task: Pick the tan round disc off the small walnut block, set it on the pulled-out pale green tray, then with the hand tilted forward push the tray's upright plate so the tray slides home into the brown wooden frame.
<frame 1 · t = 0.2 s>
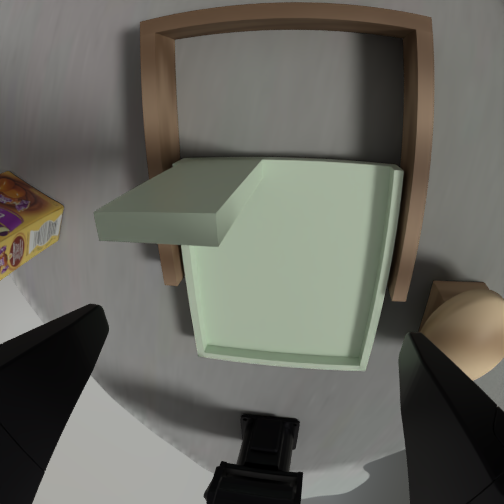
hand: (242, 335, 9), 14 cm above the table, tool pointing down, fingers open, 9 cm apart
tray: (277, 314, 19), point 6 cm above the table, slide at 8.0 cm
brown wooden frame: (288, 156, 20), on the table
tan round disc: (465, 334, 20), point 3 cm above the table, touching block
block: (451, 307, 23), on the table
candy box: (33, 201, 26), on the table
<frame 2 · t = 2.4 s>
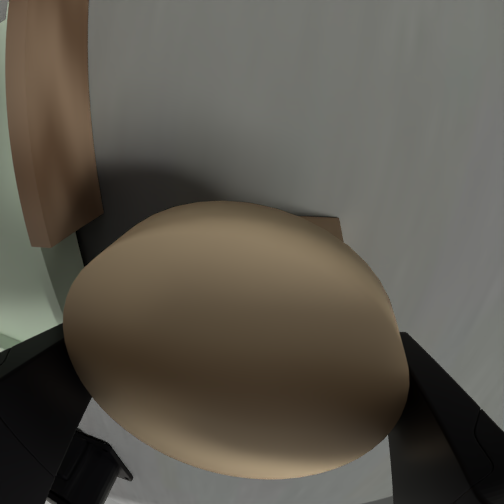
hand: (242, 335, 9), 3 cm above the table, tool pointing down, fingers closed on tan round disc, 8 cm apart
tan round disc: (234, 356, 8), point 3 cm above the table, touching block, gripper
block: (258, 285, 11), on the table
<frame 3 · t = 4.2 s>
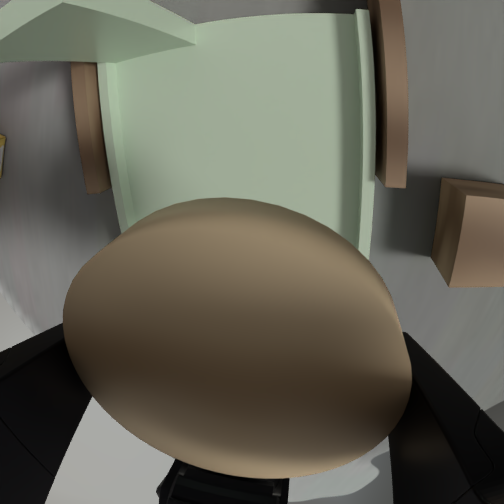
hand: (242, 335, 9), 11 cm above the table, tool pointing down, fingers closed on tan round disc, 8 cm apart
tray: (207, 191, 12), point 6 cm above the table, slide at 8.0 cm
brown wooden frame: (229, 25, 14), on the table
tan round disc: (235, 354, 8), point 12 cm above the table, touching gripper
block: (471, 221, 16), on the table
when the fingers open (2 cm above the table, at t = 6.0 s): tan round disc drops 2 cm, resting on tray.
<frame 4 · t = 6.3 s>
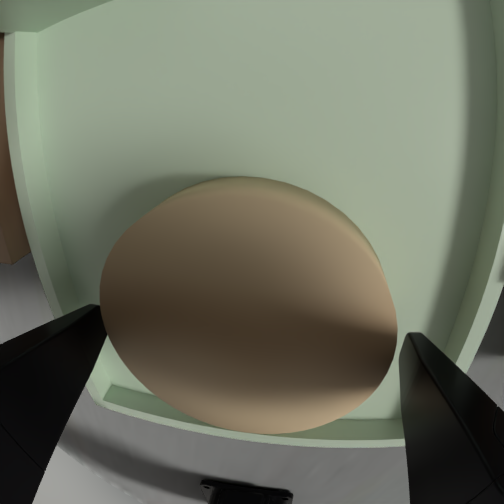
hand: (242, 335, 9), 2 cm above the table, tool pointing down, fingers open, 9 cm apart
tray: (181, 361, 4), point 6 cm above the table, slide at 8.0 cm, touching tan round disc
tan round disc: (248, 313, 9), point 1 cm above the table, touching tray
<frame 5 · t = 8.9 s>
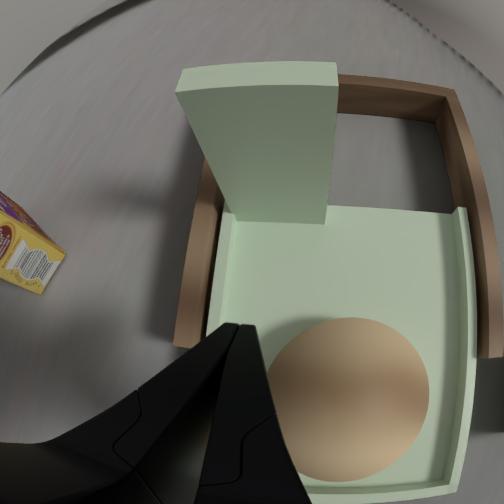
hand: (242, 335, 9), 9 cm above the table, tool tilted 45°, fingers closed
tray: (364, 348, 11), point 6 cm above the table, slide at 8.0 cm, touching tan round disc
brown wooden frame: (348, 216, 19), on the table
tan round disc: (343, 399, 14), point 1 cm above the table, touching tray
candy box: (33, 247, 22), on the table
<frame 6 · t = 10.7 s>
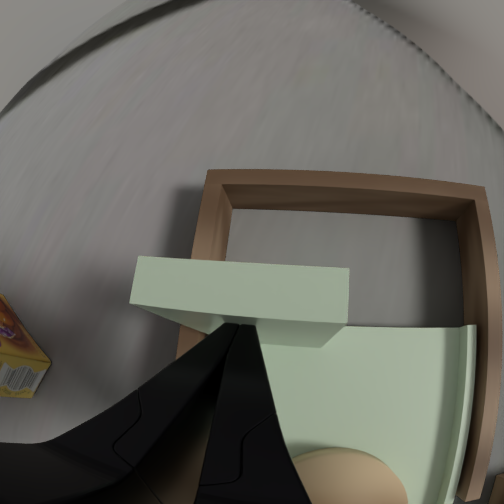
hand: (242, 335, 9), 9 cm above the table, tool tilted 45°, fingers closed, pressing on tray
brown wooden frame: (346, 354, 17), on the table
candy box: (18, 342, 20), on the table
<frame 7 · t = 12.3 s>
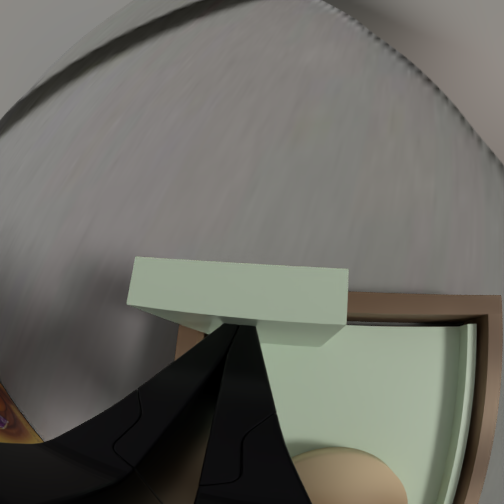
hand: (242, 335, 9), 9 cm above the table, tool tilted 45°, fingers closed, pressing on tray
brown wooden frame: (331, 467, 14), on the table
candy box: (12, 418, 18), on the table
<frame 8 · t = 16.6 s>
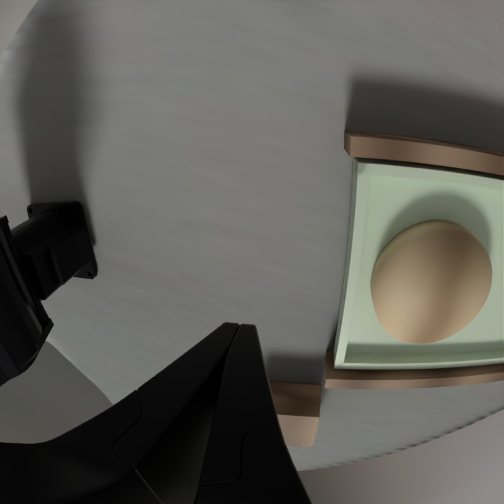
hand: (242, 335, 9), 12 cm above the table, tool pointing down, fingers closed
tray: (487, 321, 14), point 6 cm above the table, slide at 0.0 cm, touching tan round disc
brown wooden frame: (454, 270, 19), on the table
tan round disc: (429, 279, 18), point 1 cm above the table, touching tray
block: (290, 400, 27), on the table
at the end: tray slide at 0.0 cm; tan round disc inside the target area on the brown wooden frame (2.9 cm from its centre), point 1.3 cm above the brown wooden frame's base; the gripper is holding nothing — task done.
